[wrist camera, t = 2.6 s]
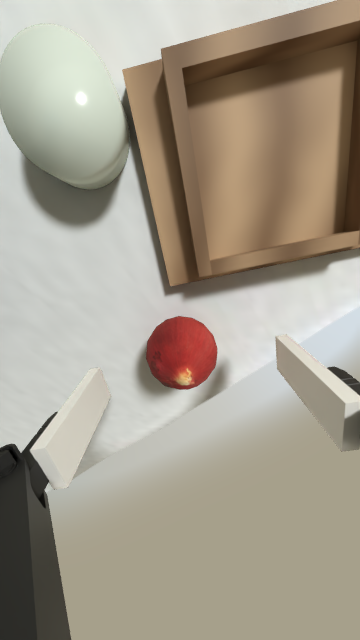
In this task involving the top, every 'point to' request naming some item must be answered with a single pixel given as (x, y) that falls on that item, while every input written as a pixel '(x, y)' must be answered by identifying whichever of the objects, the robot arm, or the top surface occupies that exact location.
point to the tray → (253, 142)
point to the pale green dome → (63, 106)
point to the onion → (181, 353)
